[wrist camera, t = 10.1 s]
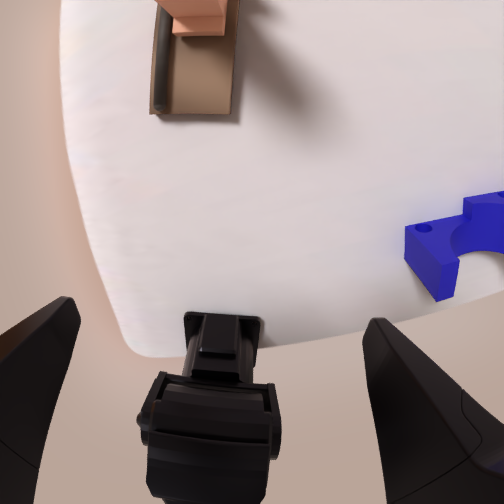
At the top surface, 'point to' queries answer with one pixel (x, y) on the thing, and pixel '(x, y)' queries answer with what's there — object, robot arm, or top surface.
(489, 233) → the cable clip
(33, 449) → the robot arm
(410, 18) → the top surface
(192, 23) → the block
